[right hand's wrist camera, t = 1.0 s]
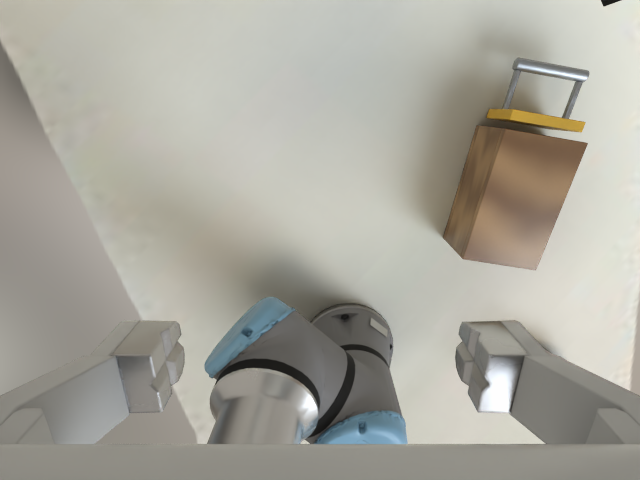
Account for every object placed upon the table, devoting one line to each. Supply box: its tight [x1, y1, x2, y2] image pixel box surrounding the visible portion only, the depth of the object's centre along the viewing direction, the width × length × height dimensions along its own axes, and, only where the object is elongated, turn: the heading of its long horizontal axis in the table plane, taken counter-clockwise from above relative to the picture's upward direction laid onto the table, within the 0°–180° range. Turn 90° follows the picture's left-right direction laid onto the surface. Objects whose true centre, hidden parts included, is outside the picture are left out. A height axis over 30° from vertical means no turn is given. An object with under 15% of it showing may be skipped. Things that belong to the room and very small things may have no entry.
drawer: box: [487, 58, 589, 132], centre depth 48 cm, size 22×9×6 cm, turn 171°
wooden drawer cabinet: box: [443, 125, 588, 270], centre depth 50 cm, size 17×10×8 cm, turn 171°
